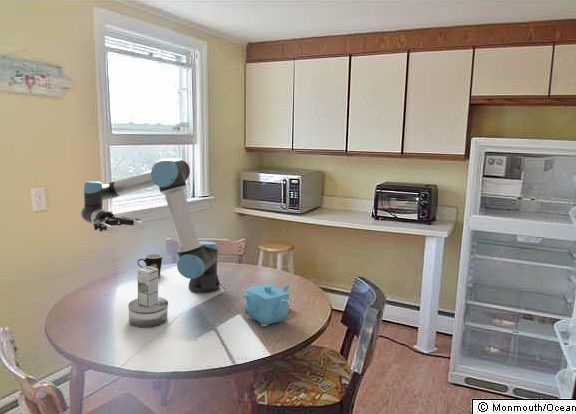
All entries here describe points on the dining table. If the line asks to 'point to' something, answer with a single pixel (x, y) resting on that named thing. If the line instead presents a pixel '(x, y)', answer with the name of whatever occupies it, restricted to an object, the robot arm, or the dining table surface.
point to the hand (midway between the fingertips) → (127, 227)
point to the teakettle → (267, 303)
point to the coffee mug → (153, 261)
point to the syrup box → (147, 286)
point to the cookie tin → (148, 314)
